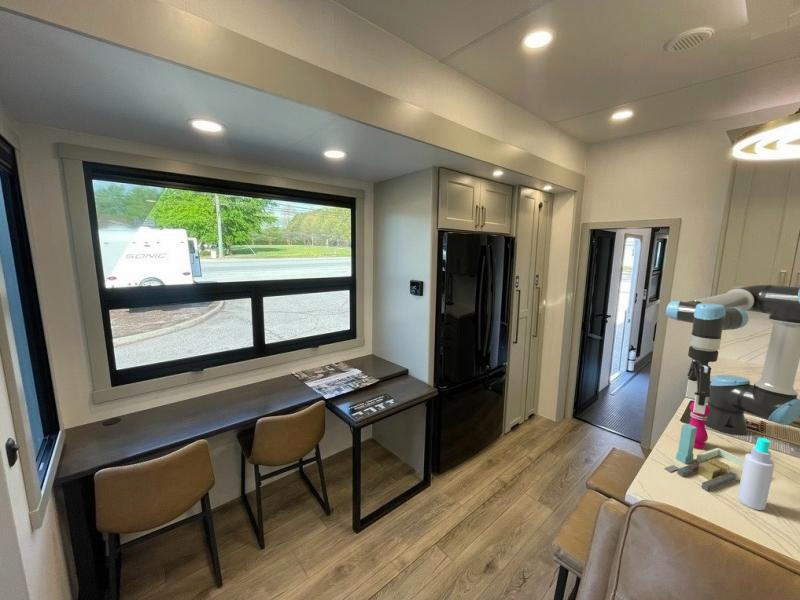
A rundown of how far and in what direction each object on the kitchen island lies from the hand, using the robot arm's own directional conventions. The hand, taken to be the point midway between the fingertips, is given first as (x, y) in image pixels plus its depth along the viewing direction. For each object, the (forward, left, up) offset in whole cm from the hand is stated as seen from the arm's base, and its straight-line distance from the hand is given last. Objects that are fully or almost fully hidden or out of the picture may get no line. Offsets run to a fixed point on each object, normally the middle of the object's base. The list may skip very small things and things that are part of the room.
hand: (694, 404), depth 116 cm
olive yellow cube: (-1, +6, -24) cm, 25 cm away
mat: (+7, 0, -24) cm, 25 cm away
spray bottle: (+1, +19, -24) cm, 31 cm away
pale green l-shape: (-14, +6, -24) cm, 28 cm away
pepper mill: (-18, -7, -24) cm, 31 cm away
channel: (0, +7, -24) cm, 25 cm away
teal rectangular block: (-3, -2, -24) cm, 24 cm away
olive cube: (-6, +7, -24) cm, 26 cm away
